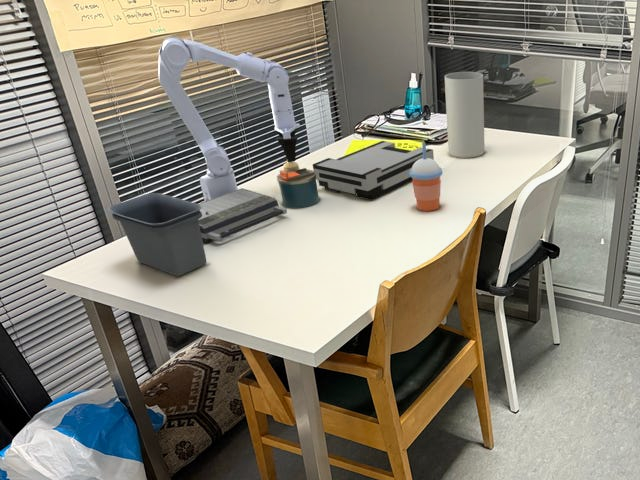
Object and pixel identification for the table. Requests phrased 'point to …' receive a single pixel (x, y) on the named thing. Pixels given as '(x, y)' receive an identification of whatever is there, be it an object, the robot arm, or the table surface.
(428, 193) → the cup with straw
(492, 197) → the table surface
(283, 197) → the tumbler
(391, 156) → the game console
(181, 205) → the storage bin
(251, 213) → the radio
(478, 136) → the cylinder vase
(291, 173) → the slider
